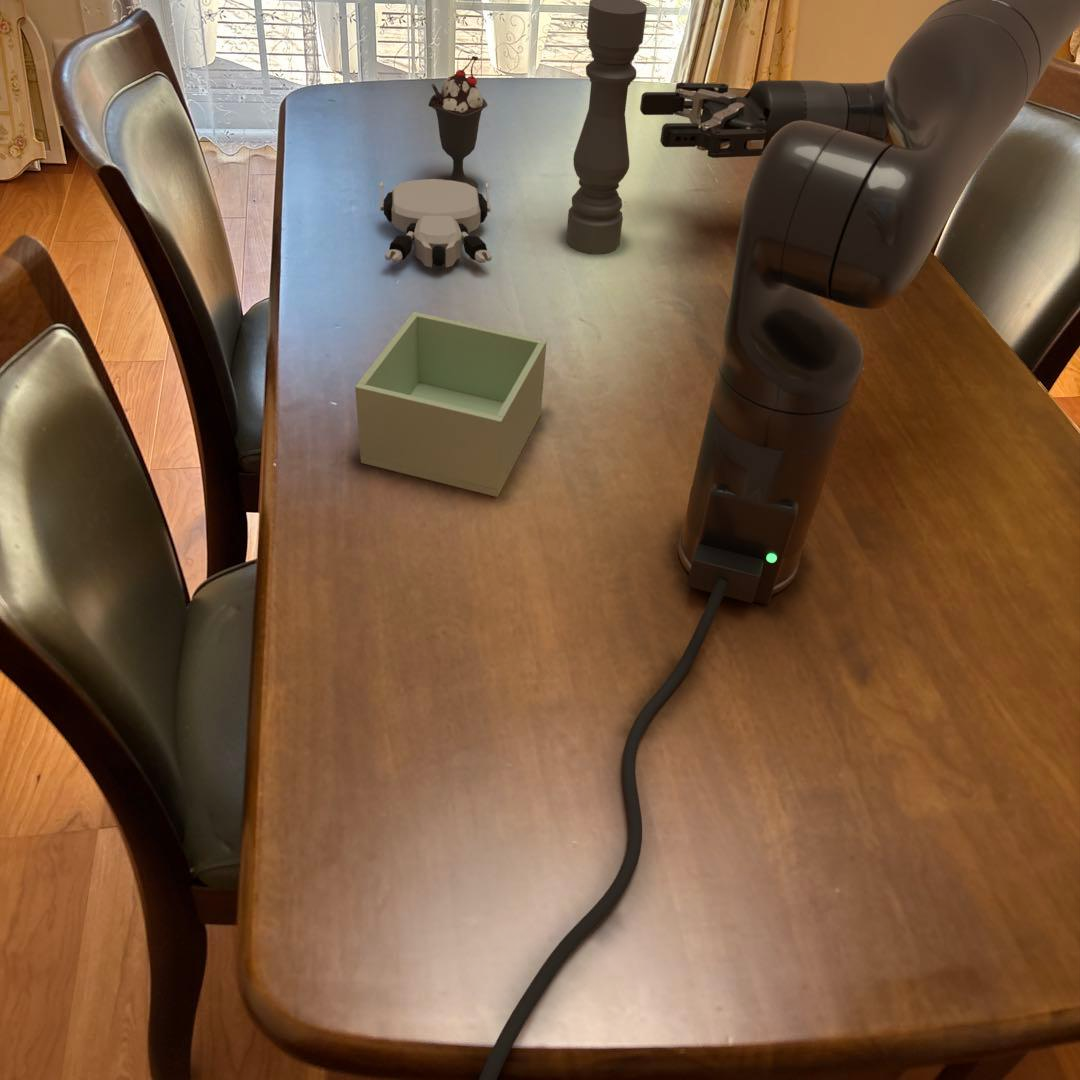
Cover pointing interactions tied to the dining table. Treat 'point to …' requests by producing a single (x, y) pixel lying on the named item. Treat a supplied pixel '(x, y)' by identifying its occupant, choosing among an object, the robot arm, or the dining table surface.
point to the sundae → (458, 119)
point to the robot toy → (436, 221)
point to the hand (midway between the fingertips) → (651, 119)
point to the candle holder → (605, 125)
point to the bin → (451, 402)
